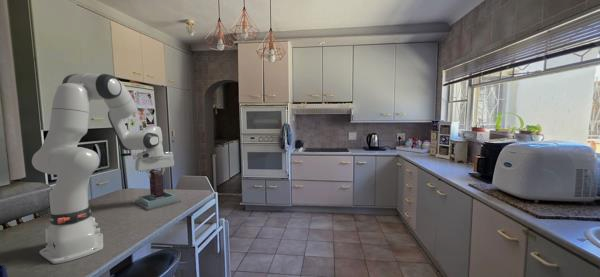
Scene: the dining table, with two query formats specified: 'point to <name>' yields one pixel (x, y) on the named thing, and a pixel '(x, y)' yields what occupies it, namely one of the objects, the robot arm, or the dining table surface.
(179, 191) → the dining table surface
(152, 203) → the tray
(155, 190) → the supplement box
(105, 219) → the dining table surface
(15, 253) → the dining table surface
